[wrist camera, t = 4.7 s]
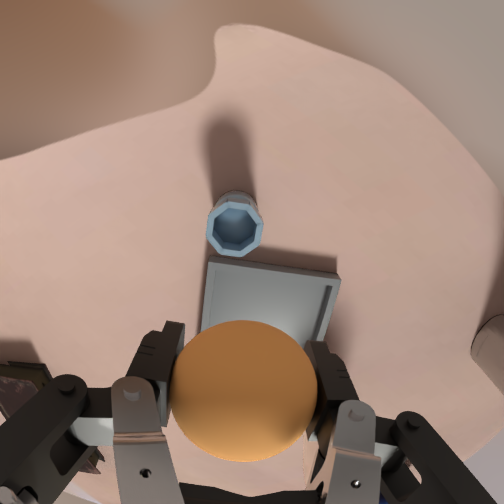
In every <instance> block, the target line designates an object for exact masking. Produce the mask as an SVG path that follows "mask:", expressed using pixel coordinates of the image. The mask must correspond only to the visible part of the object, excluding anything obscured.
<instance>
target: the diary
mask: <svg viewBox="0 0 504 504" xmlns="http://www.w3.org/2000/svg"><path fill="white" fill-rule="evenodd" d="M8 363H9V365H3V364H0V411H1V413H2V414H3V416H4V417H5V419H6V420H7V419H8V418H10V417H11V416H12V415H13V414H14V413H15V412H16V411H17V410H18V409H19V408H21V407H22V406H23V405H24V404H25V403H26V402H27V401H28V400H30V399H31V398H32V397H33V396H34V395H35V394H36V393H37V392H38V391H40V390H41V389H42V388H43V387H44V386H45V385H46V384H48V383H49V382H50V381H51V380H52V379H53V378H52V376H51V374H50V372H49V370H48V368H47V366H46V364H38V363H24V362H12V361H8ZM98 459H99V460H102V461H104V462H105V460H104V457H103V456H102V454H101V453H100V451H99V450H98V449H97V448H96V449H95V450H94V452H93V453H92V454H91V456H90V457H89V458H88V459H87V461H86V462H85V463H84V464H83V466H82V467H81V468H80V470H79V471H80V472H86V473H92V474H101V473H100V472H99V471H98V469H97V468H96V465H97V462H98Z"/></svg>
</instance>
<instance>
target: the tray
mask: <svg viewBox="0 0 504 504" xmlns="http://www.w3.org/2000/svg"><path fill="white" fill-rule="evenodd" d="M340 284H341V278H340V277H339V276H338V274H337V273H330V272H323V271H315V270H308V269H301V268H294V267H286V266H279V265H272V264H265V263H258V262H251V261H244V260H237V259H230V258H223V257H216V256H210V258H209V262H208V270H207V278H206V287H205V296H204V305H203V314H202V324H201V332H202V331H204V330H206V329H208V328H210V327H212V326H215V325H217V324H220V323H224V322H228V321H235V320H250V321H257V322H262V323H265V324H269V325H271V326H273V327H276V328H278V329H280V330H281V331H283V332H285V333H286V334H288V335H289V336H290V337H292V338H293V339H294V340H295V341H296V342H297V343H298V344H299V345H300V346H301V347H302V349H304V346H305V343H306V341H307V340H314V341H323V339H324V336H325V333H326V330H327V327H328V324H329V321H330V317H331V314H332V311H333V308H334V304H335V301H336V298H337V294H338V291H339V287H340Z"/></svg>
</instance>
